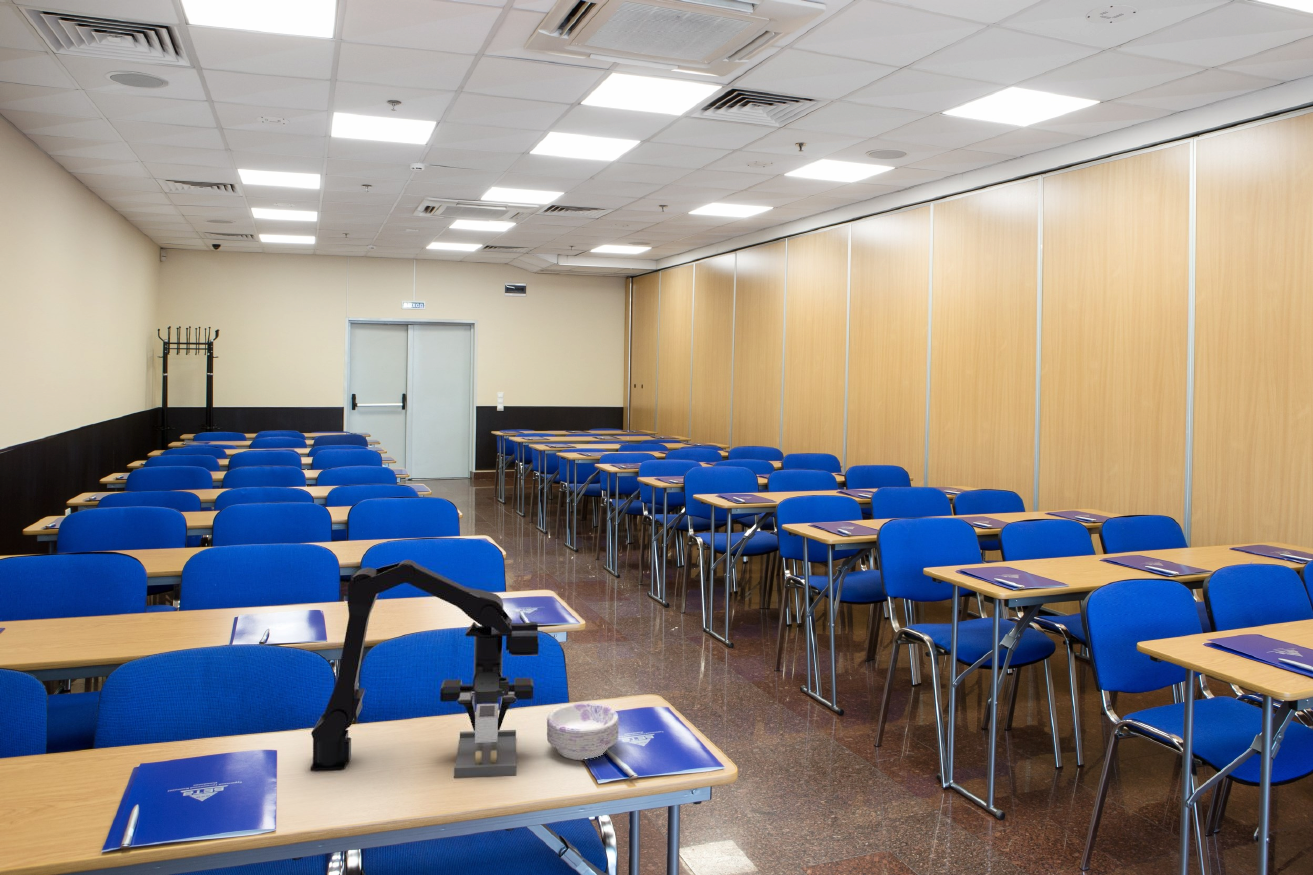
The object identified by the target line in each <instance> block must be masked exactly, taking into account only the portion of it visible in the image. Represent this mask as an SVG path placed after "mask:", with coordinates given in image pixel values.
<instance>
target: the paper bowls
mask: <svg viewBox="0 0 1313 875" xmlns="http://www.w3.org/2000/svg"><path fill="white" fill-rule="evenodd" d="M619 719H620V717H619V714H618V712H616V711H615V709H613V708H611V707H609V706H606V705H602V704H597V703H590V702H588V703H587V702H585V703H584V702H581V703H571V704H566V705H562V706H560V707H557V708H555V709H553V710H552V711H550V712H549V714H548V716H547V718H546V739H547V743H548V744H549V745H550V746H552V747H554V748H556V750H557V752H558V753H559V754H560V755H561V756H562V757H564V758H567V759H570V760H574V761H584V760H583V759H585V758H594V757H597V758H599V757H598V756H600V757H602V756H601V755H604V754H605V753H606V752H607V751H608V749H609V748H611V747H612V746H614V745H615V744H616V742H617V741H618V739H619V725H620V724H619ZM606 750H607V751H606ZM605 751H606V752H605ZM604 752H605V753H604ZM603 753H604V754H603ZM594 759H595V758H594Z"/></svg>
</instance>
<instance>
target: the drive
mask: <svg viewBox="0 0 1313 875" xmlns="http://www.w3.org/2000/svg"><path fill="white" fill-rule="evenodd" d="M499 706H500V705H499V703H495V704H491V703H482V704H476V707H475V714H476V717H475V743H486V742H497V738H498V717H499Z"/></svg>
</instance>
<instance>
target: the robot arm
mask: <svg viewBox="0 0 1313 875" xmlns="http://www.w3.org/2000/svg"><path fill="white" fill-rule="evenodd" d="M403 584H407V585H410V586H412V587H414V588H416V589H417V590H418V589H419V590H420V591H422V592H425V593H427V594H430V595H432V596H433V597H435V598H438V599H440V600H443V601H444V602H447V603H449V604H450V605H452V606H455V607H456V608H458V609H460V610H461V611H462V613H464V614H465V615H466V616H467V617H469V618H470V619H471V620H473V621H474V622H472V623H471V625H470V626H469V627H468V628H466V629H465V630H466V631H465V637H470V638H471V637H474V648H473V649H474V651H473V652H474V654H473V656H474V657H473V659H474V660H473V662H474V663H473V677H472V684H463V682H462V678H461V679H460V678H459V679H458V678H457V679H444V680H443V682H442V683H441V687H440V696H439V698H440V699H439V700H440V701H441V702H442V703H445V702H447V703H448V702H457V704H458V705H460V706H463V707H464V708H465V710H466V712H467V714H468V717H469V720H470V723H471V727H472V729H473V730H472V731H475V717H476V706H475V705H477V704H498V703H499V702H500V705H499V709H498V730H501V728H502V727H501V726H502V723H503V721H504V719H505V716H506V713H507V711H508V710H509V708H510V706H511V704H515V703H517V700H518V701H520V700H522V701H523V700H524V701H525V700H532V699H534V680H533V679H532V678H531V677H514V678H513V680H514V682H513V683H510V677H509V676H503V648H504V646H503V642H504V641H503V639H504V637H505V638H506V639H505V651H506V652H508V654H510V656H511V657H530V656H533V657H534V656H535V657H537V656H539V645H540V644H539V642H540V641H539V631H538V630H539V626H538V625H539V624H538V623H539V622H537V621H530V622H513V620H512V619H511V617H510V615H509V614H508V613H507V612H506V611H505V609H504V602H503V600H502V598H501V596H499V595H498V594H497V593H493V592H491V591H486V590H483V589H478V588H471V587H468V586H464V585H462V584H460V583H458V582H456V581H453V580H451V579H449V578H447V577H445V576H444V575H441V574H439V573H436V572H434V571H432V570H430V569H429V568H426V567H424V566H422V565H421V564H418V563H416V562H415V561H414V560H411V559H404V560H402V561H399V562H397V563H396V562H395V563H393V564H389V565H384V566H380V567H378V568H372V567H364V568H361V569H359V570H358V571H357V572H356V573H355V574H354V575H353V576H352V578H351V579H350V580H349V581H348V584H347V588H346V590H347V592H346V593H347V594H346V596H347V601H346V602H347V610H348V620H347V626H346V630H345V636H344V642H343V647H342V652H341V658H340V662H339V668H338V674H337V678H336V684H335V685H334V689H333V691H332V693H331V695H330V698H329V699H328V700H329V701H328V703H327V705H326V707H325V710H324V712H323V714H321V716H320V717H319V719H318V720H317V722H316V724H315V726H314V727H313V729H312V731H311V732H310V735H311V738H312V764H311V765H310V771H327V770H328V771H330V770H344V769H345V768H346V766H347V764H348V763H349V762H350V760H351V757H352V738H351V737H349V729H348V728H350V727H351V726H352V724H353V722H354V720H357V719H358V718H359V715H360V713H361V710H362V709H363V697H364V696H365V695H364V694H365V692H366V688H359V675H360V669H361V664H362V658H363V653H364V647H365V642H366V637H367V634H368V633H367V631H368V627H369V620H370V616H371V613H372V610H373V609H374V605H375V603H376V601H377V599H378V596H379V594H380V593H383V592H386V591H388V590H390V589H393V588H395V587H397V586H400V585H403Z"/></svg>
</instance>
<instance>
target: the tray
mask: <svg viewBox="0 0 1313 875" xmlns="http://www.w3.org/2000/svg"><path fill="white" fill-rule="evenodd" d="M458 740H459V741H458V747H457V752H456V753H457V754H456V759H455V765H454V769H453V770H454V774H453V778H454V779H460V778H461V779H463V778H487V777H509V776H517V730H516V729H500V730H498V738H497V742H486V743H475V731H474V730H471V731H468V730H467V731H459V739H458Z"/></svg>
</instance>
